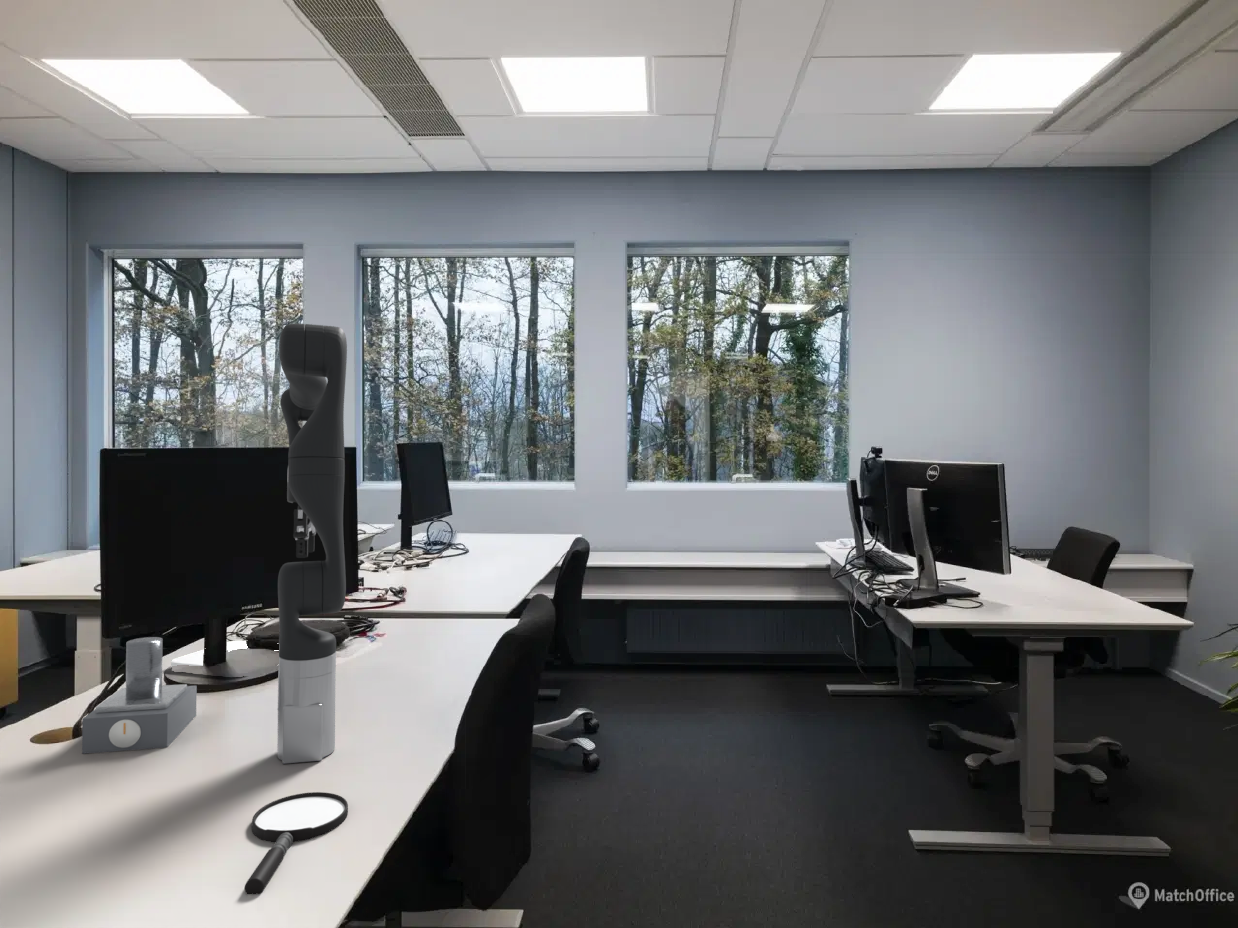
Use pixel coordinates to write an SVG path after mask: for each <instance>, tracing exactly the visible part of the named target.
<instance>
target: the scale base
mask: <svg viewBox="0 0 1238 928" xmlns="http://www.w3.org/2000/svg"><path fill="white" fill-rule="evenodd" d="M197 690H198V688H197V685H187V690H186V691H184V692H183V693H182V694H181V695H180V696H179V697H178V698H177V699H176V700H175V701H174V702H173V703H172V704H171V705H170V706H168V707H167V708H166V709H150V710H134V711H118V712H103V713H96V708H95V709H93V710H92V711H91V712H90V713H88V714H87V715H86V716H84V717H83V718H82V719H81V720H82V721H81V723H82V728H81V729H82V730H81V731H82V733H81V736H82V737H81V742H82V743H81V754H94V753H95V754H97V753H107V752H109V753H110V752H122V751H123V752H124V751H133V750H134V751H135V750H149V749H150V750H151V749H161V748H163V749H164V748H168V747H169V746H170V745H171V744H172V743H173V742H174V741H175V740H176V738H177V737H178V736H179V735H180V734H181V733H182V732H183V731H184V730H185V728H187V727H188V725H189V724H190V723H191V722H192V721H193V720H194V719H195V718H196V717H197ZM195 716H196V717H195ZM194 717H195V718H194ZM193 718H194V719H193Z"/></svg>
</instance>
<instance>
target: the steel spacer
mask: <svg viewBox="0 0 1238 928" xmlns="http://www.w3.org/2000/svg"><path fill="white" fill-rule="evenodd" d="M163 641H164V640H163V637H159V636H148V637H139V638H134V639H130V640H128V641H126V644H125V646H126V649H125V651H126V653H125V688H126V699H129V700H141V699H148V698H152V697H156V696H158V695H160V694H161V693H162V686H163Z"/></svg>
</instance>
